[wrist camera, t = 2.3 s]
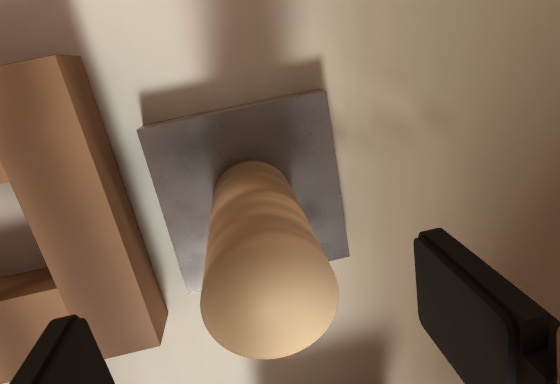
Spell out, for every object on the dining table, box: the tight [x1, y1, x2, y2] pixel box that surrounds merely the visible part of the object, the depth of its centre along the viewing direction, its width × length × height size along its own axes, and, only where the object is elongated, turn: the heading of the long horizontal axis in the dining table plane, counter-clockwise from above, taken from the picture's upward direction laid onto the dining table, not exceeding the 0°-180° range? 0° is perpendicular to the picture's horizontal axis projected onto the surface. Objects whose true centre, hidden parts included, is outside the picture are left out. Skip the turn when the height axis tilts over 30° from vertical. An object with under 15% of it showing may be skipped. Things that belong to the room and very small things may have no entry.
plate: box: [137, 89, 350, 294], centre depth 22 cm, size 10×10×2 cm
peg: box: [200, 161, 339, 359], centre depth 17 cm, size 4×4×10 cm
